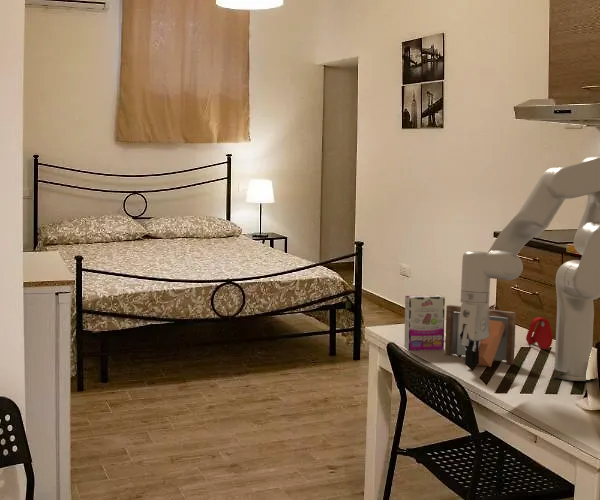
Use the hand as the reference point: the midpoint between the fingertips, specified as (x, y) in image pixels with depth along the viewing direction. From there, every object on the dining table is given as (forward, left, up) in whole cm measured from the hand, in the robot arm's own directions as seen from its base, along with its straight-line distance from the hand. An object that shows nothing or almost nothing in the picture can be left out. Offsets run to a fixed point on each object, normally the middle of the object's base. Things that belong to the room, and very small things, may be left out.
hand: (471, 364), depth 226 cm
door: (+12, -14, -1) cm, 18 cm away
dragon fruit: (+14, -42, -1) cm, 44 cm away
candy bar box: (+23, -15, -1) cm, 27 cm away
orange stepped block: (0, -10, +4) cm, 11 cm away
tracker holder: (-2, -41, -1) cm, 41 cm away
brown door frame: (+5, -14, -1) cm, 14 cm away
